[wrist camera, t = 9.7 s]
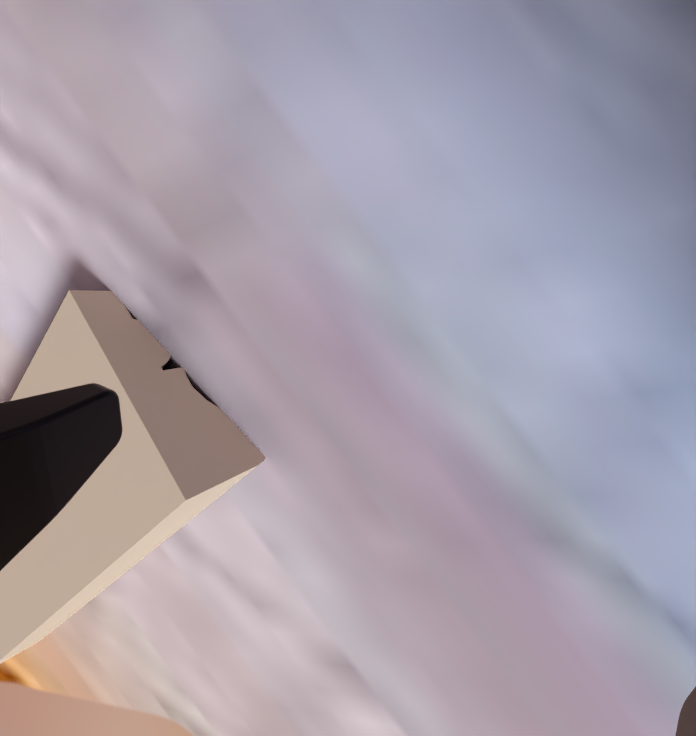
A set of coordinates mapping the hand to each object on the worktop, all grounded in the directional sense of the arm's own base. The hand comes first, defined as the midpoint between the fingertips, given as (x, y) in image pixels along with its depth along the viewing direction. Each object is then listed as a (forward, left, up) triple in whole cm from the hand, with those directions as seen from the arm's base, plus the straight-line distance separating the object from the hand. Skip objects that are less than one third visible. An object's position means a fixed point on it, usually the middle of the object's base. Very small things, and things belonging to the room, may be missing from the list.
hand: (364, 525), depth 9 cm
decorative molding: (+23, +24, -13) cm, 35 cm away
